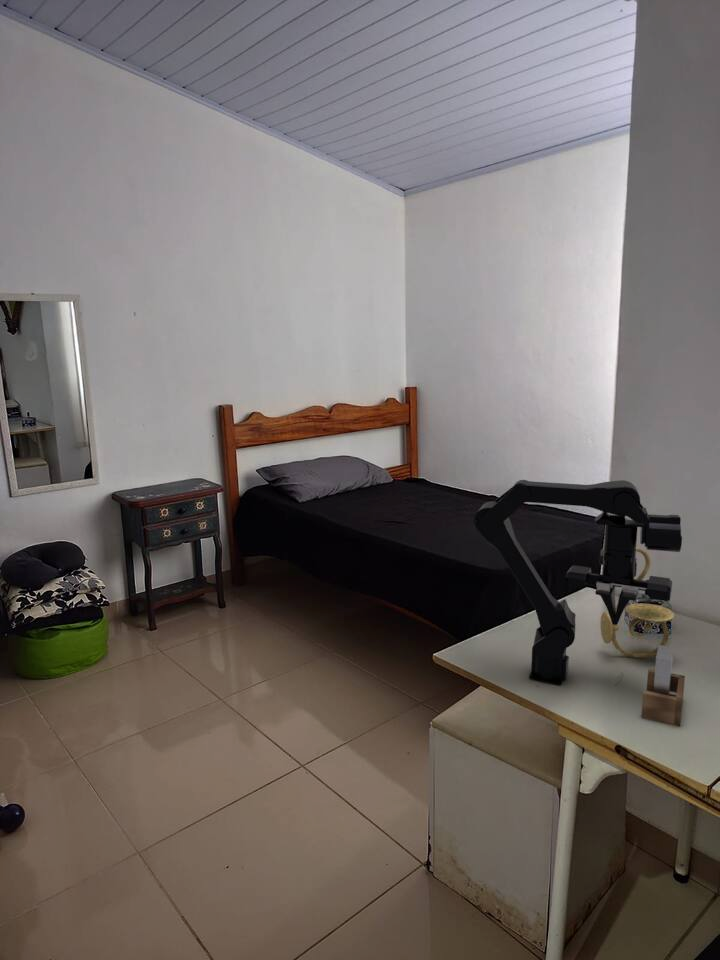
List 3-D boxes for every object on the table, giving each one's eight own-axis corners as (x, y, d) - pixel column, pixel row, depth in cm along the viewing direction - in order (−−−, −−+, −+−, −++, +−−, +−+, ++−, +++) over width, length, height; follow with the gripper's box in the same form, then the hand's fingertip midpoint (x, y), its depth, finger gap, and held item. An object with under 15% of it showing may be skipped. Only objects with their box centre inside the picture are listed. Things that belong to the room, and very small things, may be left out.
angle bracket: (644, 712, 118) (648, 656, 116) (647, 697, 123) (651, 643, 121) (674, 719, 115) (679, 662, 113) (676, 703, 120) (681, 648, 118)
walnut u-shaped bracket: (641, 718, 116) (643, 693, 115) (646, 692, 125) (648, 668, 124) (680, 727, 113) (682, 701, 112) (682, 700, 122) (685, 675, 121)
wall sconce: (610, 667, 135) (617, 553, 130) (596, 647, 144) (602, 540, 140) (678, 668, 134) (687, 553, 130) (660, 648, 143) (668, 540, 139)
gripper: (676, 542, 125) (670, 617, 128) (577, 531, 134) (574, 602, 137) (672, 558, 115) (666, 639, 118) (566, 545, 124) (562, 621, 127)
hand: (615, 624), depth 125 cm, fingers closed
